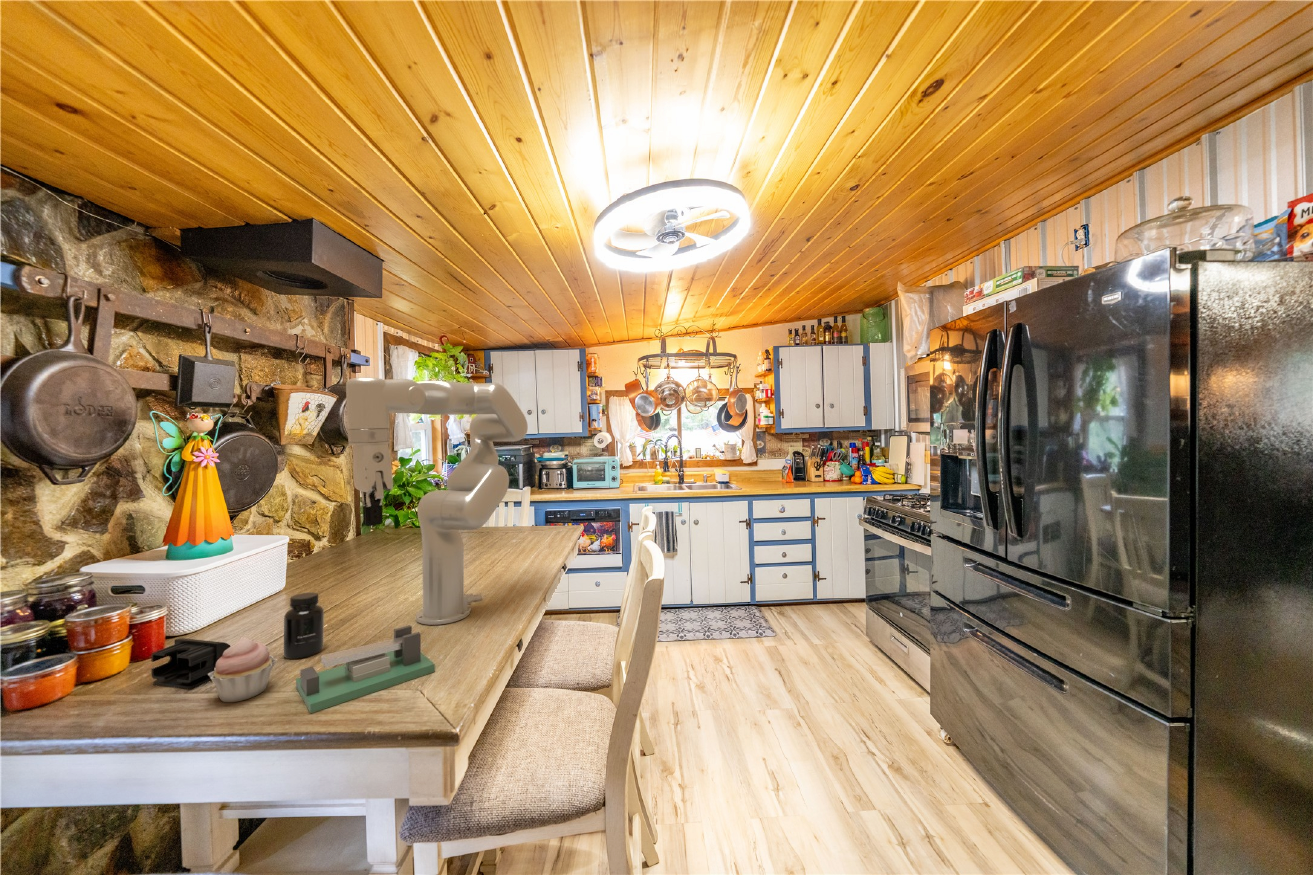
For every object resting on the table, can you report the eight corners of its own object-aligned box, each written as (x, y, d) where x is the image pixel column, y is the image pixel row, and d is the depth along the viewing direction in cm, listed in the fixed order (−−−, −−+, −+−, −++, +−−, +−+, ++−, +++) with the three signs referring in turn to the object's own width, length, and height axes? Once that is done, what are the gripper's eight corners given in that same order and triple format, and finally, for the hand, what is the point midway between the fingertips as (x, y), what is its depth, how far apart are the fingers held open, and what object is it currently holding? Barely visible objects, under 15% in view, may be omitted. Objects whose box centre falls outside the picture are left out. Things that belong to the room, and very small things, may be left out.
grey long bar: (408, 642, 99) (408, 633, 99) (414, 646, 97) (414, 638, 97) (321, 663, 89) (321, 654, 89) (325, 668, 87) (325, 659, 87)
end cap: (233, 671, 96) (233, 637, 96) (193, 690, 89) (192, 653, 89) (192, 667, 98) (192, 632, 98) (149, 685, 91) (149, 648, 91)
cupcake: (259, 676, 94) (258, 623, 94) (287, 687, 90) (287, 632, 90) (196, 700, 85) (196, 642, 85) (225, 713, 81) (224, 652, 81)
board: (412, 652, 104) (412, 619, 104) (434, 671, 96) (434, 635, 95) (296, 686, 90) (295, 648, 90) (310, 713, 81) (310, 671, 81)
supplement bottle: (303, 661, 100) (302, 602, 100) (275, 658, 101) (274, 599, 101) (331, 646, 107) (331, 591, 106) (305, 644, 108) (304, 589, 108)
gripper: (402, 437, 101) (405, 526, 102) (376, 435, 111) (380, 516, 112) (360, 439, 95) (364, 533, 96) (338, 437, 106) (342, 522, 107)
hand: (373, 524), depth 104 cm, fingers closed
